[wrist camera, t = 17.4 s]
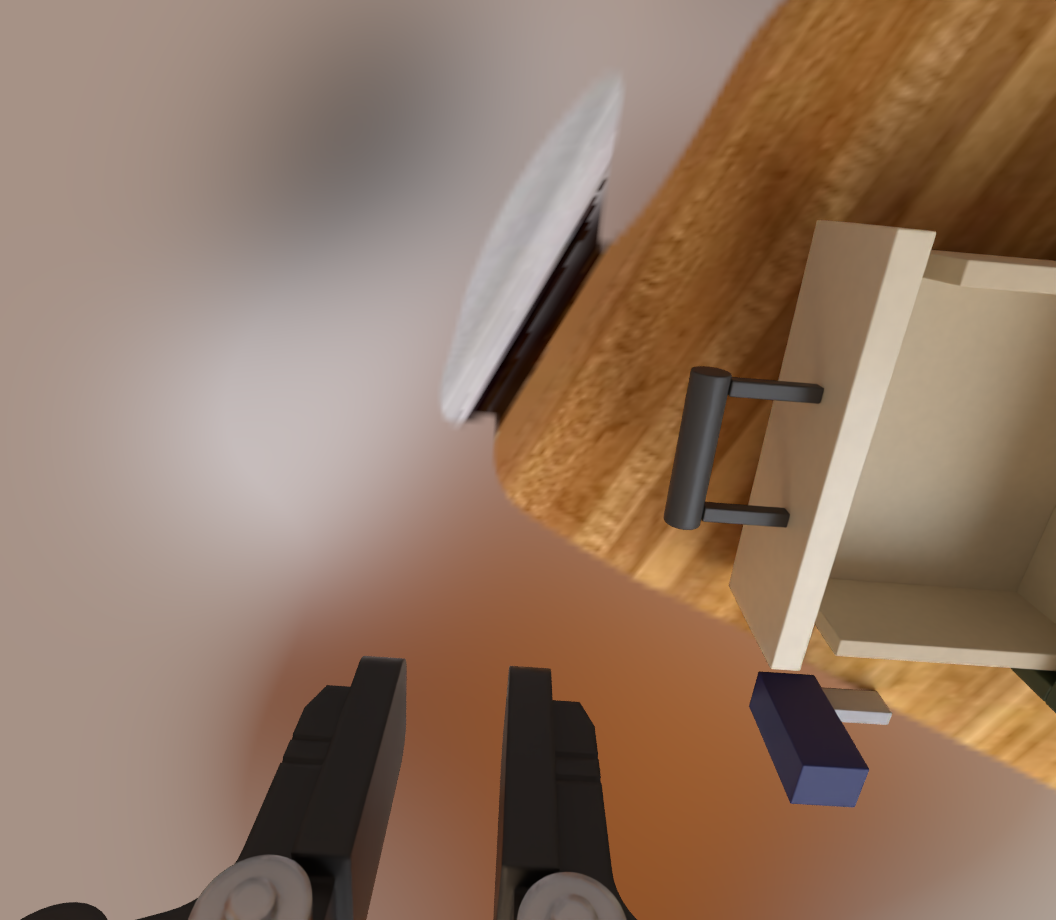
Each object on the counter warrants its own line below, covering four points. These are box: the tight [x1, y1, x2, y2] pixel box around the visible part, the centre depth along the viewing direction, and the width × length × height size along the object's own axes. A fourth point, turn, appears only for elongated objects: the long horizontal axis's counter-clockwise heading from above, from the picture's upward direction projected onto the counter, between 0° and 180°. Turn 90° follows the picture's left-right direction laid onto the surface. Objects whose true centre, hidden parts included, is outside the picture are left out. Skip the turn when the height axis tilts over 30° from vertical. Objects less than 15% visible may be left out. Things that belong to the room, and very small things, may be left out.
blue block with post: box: [749, 672, 892, 807], centre depth 31 cm, size 2×7×6 cm, turn 85°
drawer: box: [664, 220, 1056, 671], centre depth 25 cm, size 18×16×6 cm
